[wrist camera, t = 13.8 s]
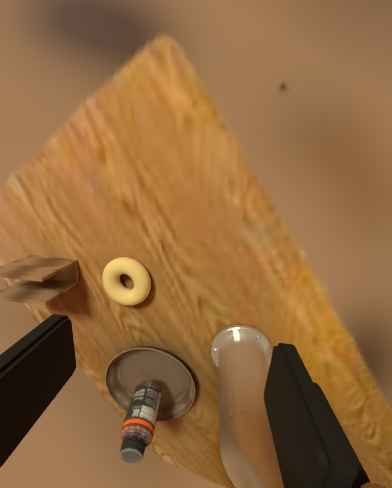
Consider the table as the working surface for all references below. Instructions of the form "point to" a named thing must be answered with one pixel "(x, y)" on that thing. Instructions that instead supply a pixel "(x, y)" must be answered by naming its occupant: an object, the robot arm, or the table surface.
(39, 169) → the table surface
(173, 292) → the table surface
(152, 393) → the supplement bottle
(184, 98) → the table surface
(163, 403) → the plant saucer
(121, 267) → the donut
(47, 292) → the napkin holder
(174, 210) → the table surface
